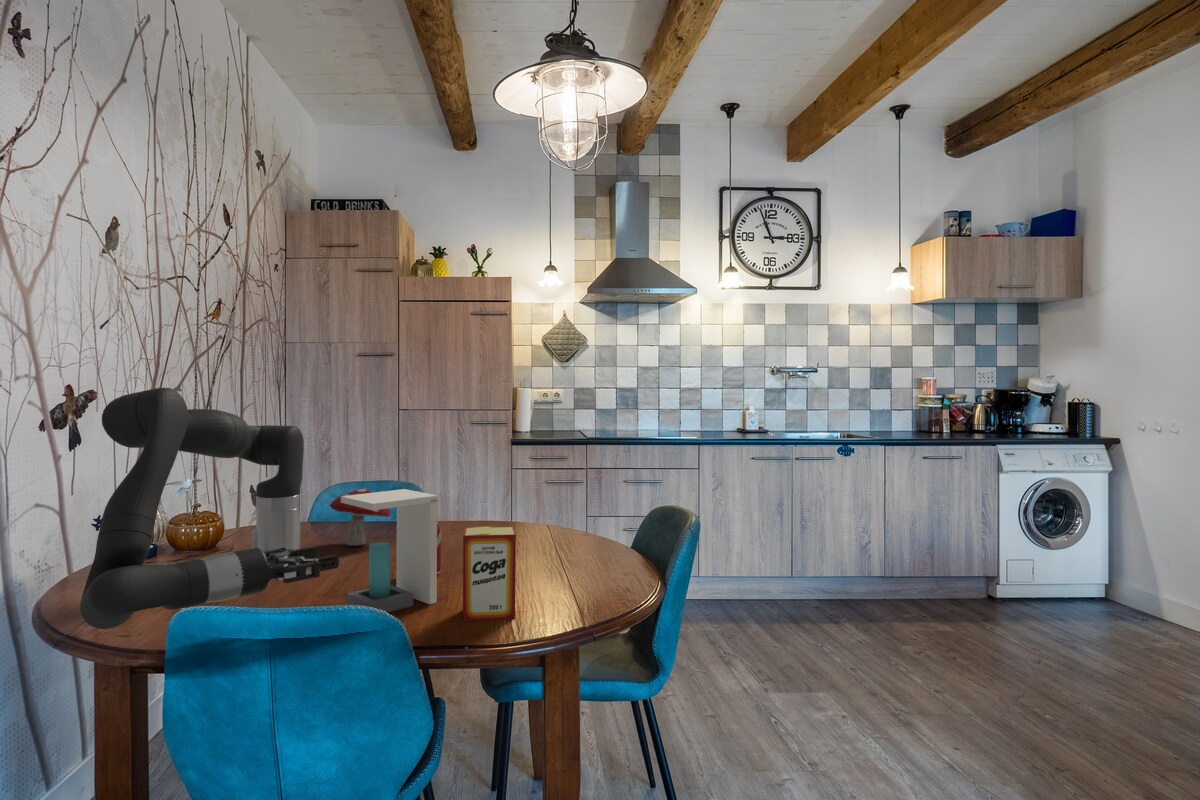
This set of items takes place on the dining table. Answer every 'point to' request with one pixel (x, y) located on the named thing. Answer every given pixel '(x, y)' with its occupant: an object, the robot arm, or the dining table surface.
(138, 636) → the dining table surface
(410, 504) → the awning socket
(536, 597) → the dining table surface
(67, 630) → the dining table surface
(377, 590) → the peg
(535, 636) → the dining table surface
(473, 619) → the baking soda box
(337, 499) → the decorative mushroom
